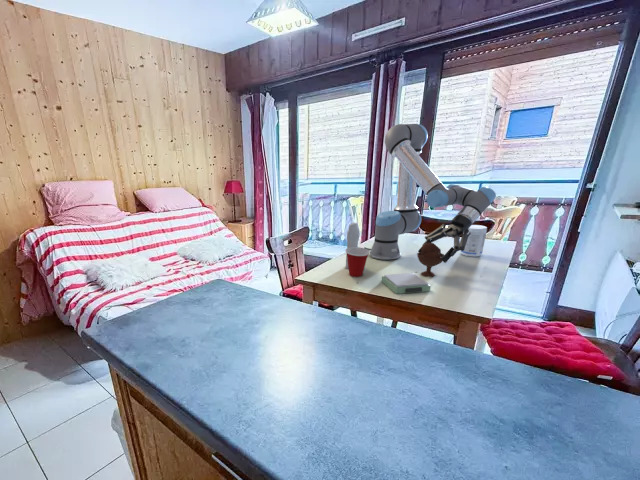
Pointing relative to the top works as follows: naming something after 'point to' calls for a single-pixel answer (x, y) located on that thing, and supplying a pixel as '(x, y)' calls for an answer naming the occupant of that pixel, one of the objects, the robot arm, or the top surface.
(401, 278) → the scale
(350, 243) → the tall pale column
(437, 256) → the ice cream bowl
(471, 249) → the supplement tub
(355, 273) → the plastic cup
